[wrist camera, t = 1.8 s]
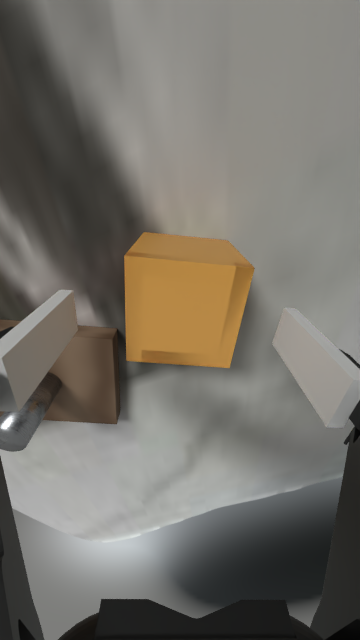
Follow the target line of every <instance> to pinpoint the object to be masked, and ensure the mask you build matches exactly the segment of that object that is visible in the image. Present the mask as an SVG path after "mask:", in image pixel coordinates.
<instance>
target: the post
mask: <svg viewBox="0 0 360 640" xmlns="http://www.w3.org/2000/svg"><path fill="white" fill-rule="evenodd" d="M61 387H62V382H61V380H60V379H59V378H58V377H57V376H56V375H55V374H53V373H50V372H47V374H46V375H45V377H44V378H43V379H42V381H41V382H40V384H39V385H38V386H37V388H36V389H35V391H34V392H33V393H32V395H31V396H30V397H29V399H28V400H27V402H26V403H25V404H24V406H23V407H22V409H21V410H20V411H19V412H7V411H5V412H4V413H3V414H2V416H1V417H0V449H2V450H6V451H20V450H23V449H24V448H26V446H27V444H28V443H29V441H30V439H31V438H32V436H33V434H34V433H35V431H36V429H37V428H38V426H39V424H40V423H41V421H42V419H43V418H44V416H45V414H46V413H47V411H48V409H49V407H50V406H51V404H52V402H53V401H54V399H55V397H56V396H57V394H58V392H59V391H60V389H61Z"/></svg>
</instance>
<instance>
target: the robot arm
mask: <svg viewBox="0 0 360 640" xmlns="http://www.w3.org/2000/svg"><path fill="white" fill-rule="evenodd" d="M77 331H78V326H77V318H76V310H75V302H74V294H73V291H72V290H59V291H58V292H57V293H55V294H54V295H53V296H52V297H50V298H49V299H48V300H47V301H46V302H44V303H43V304H42V305H41V306H40V307H38V308H37V309H36V310H35V311H34V312H32V313H31V314H30V315H29V316H27V317H26V318H25V319H24V320H23V321H21V322H20V323H19V324H18V325H17V326H15V327H9V328H6V329H4V330H2V331H0V411H7V412H19V411H20V410H21V409H22V407H23V406H24V404H25V403H26V402H27V400H28V399H29V397H30V396H31V395H32V393H33V392H34V391H35V389H36V388H37V386H38V385H39V384H40V382H41V381H42V379H43V378H44V377H45V375H46V374H47V372H48V371H49V370H50V368H51V367H52V365H53V364H54V363H55V361H56V360H57V359H58V357H59V356H60V354H61V353H62V352H63V350H64V349H65V347H66V346H67V345H68V343H69V342H70V340H71V339H72V338H73V336H74V335H75V333H76V332H77ZM272 344H273V346H274V347H275V349H276V350H277V352H278V354H279V355H280V357H281V358H282V360H283V361H284V363H285V364H286V366H287V367H288V369H289V371H290V372H291V374H292V375H293V377H294V378H295V380H296V381H297V383H298V384H299V386H300V387H301V389H302V391H303V392H304V394H305V395H306V397H307V398H308V400H309V401H310V403H311V404H312V406H313V408H314V409H315V411H316V412H317V414H318V415H319V417H320V418H321V420H322V421H323V423H324V424H325V426H326V427H328V428H343V427H344V426H345V424H346V423H347V421H348V419H350V420H351V421H352V423H353V424H354V425H355V426H354V428H353V430H352V431H351V433H350V434H349V436H348V437H347V439H346V440H345V442H344V444H346V445H347V443H348V442H349V446H348V452H347V457H346V463H345V469H344V474H343V480H342V486H341V492H340V497H339V503H338V508H337V514H336V520H335V526H334V531H333V537H332V542H331V548H330V554H329V559H328V565H327V571H326V577H325V582H324V588H323V593H322V598H321V601H320V604H319V606H318V608H317V611H316V613H315V615H314V617H313V621H312V623H311V626H310V628H309V627H308V626H307V625H305V624H304V623H302V622H301V621H299V620H297V619H295V618H294V617H292V616H290V615H289V612H288V609H287V604H286V601H285V600H240V601H238V602H236V603H233V604H231V605H229V606H227V607H225V608H222V609H220V610H218V611H215V612H213V613H211V614H208V615H206V616H204V617H202V618H198V619H195V618H191V617H189V616H186V615H184V614H182V613H179V612H177V611H174V610H172V609H170V608H167V607H165V606H163V605H160V604H158V603H156V602H153V601H151V600H148V599H101V604H100V610H99V613H96V614H94V615H92V616H89V617H88V618H86V619H84V620H83V621H81V622H79V623H77V624H76V625H75V626H74V627H72V628H71V629H70V630H68V631H67V632H66V633H65V634H63V635H62V636H61V637H60V638H59V639H58V640H360V365H359V364H358V363H357V362H356V361H355V360H354V359H353V358H352V357H351V356H350V355H348V354H347V353H345V352H343V351H342V350H340V349H338V348H337V347H336V346H335V345H334V344H333V343H332V342H331V341H329V340H328V339H327V338H326V337H325V336H324V335H323V334H322V333H321V332H320V331H319V330H318V329H317V328H316V327H315V326H314V325H313V324H312V323H310V322H309V321H308V320H307V319H306V318H305V317H304V316H303V315H302V314H301V313H300V312H299V311H298V310H297V309H296V308H284V309H283V312H282V315H281V318H280V321H279V324H278V327H277V330H276V333H275V336H274V339H273V342H272ZM0 640H44V637H43V633H42V629H41V625H40V622H39V618H38V615H37V612H36V609H35V606H34V603H33V599H32V596H31V592H30V587H29V583H28V578H27V574H26V569H25V565H24V560H23V556H22V551H21V547H20V542H19V538H18V533H17V529H16V524H15V520H14V516H13V511H12V506H11V502H10V497H9V493H8V489H7V484H6V480H5V475H4V471H3V466H2V462H1V457H0Z"/></svg>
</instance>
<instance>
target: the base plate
mask: <svg viewBox="0 0 360 640" xmlns="http://www.w3.org/2000/svg"><path fill="white" fill-rule="evenodd" d="M20 322H21V321H13V320H0V331H2V330H4V329H6V328H9V327H15V326H17V325H18V324H19V323H20ZM77 326H78V325H77ZM48 372H50V373H53V374H55V375H56V376H57V377H58V378H59V379H60V380H61V382H62V387H61V389H60V391H59V392H58V394H57V396H56V397H55V399H54V401H53V402H52V404H51V406H50V407H49V409H48V411H47V413H46V414H45V416H44V418H43V419H42V420H52V421H70V422H87V423H105V424H117V421H118V417H119V414H120V388H119V363H118V337H117V328H104V327H91V326H78V331H77V332H76V333H75V335H74V336H73V338H72V339H71V340H70V342H69V343H68V345H67V346H66V347H65V349H64V350H63V352H62V353H61V354H60V356H59V357H58V359H57V360H56V361H55V363H54V364H53V365H52V367H51V368H50V370H49V371H48ZM4 412H5V411H0V417H1V416H2V414H3V413H4Z"/></svg>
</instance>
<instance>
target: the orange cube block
mask: <svg viewBox="0 0 360 640" xmlns="http://www.w3.org/2000/svg"><path fill="white" fill-rule="evenodd" d="M124 261H125V314H126V361H136V362H150V363H165V364H179V365H193V366H207V367H221V368H230V364H231V360H232V356H233V352H234V348H235V344H236V340H237V336H238V332H239V328H240V324H241V320H242V316H243V312H244V308H245V304H246V300H247V296H248V292H249V288H250V284H251V280H252V276H253V272H254V267H253V266H252V265H251V264H250V263H249V262H248V261H247V260H246V259H245V258H244V257H243V256H242V255H241V254H240V253H239V251H238V250H237V249H236V248H235V247H234V246H233V245H232V244H231V243H230V242H229V241H228V240H218V239H208V238H198V237H188V236H177V235H167V234H157V233H147V232H144V233H143V234H142V235H141V236H140V238H139V239H138V240H137V241H136V242H135V244H134V245H133V246H132V247H131V248H130V250H129V251H128V252H127V253H126V255H125V256H124Z"/></svg>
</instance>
